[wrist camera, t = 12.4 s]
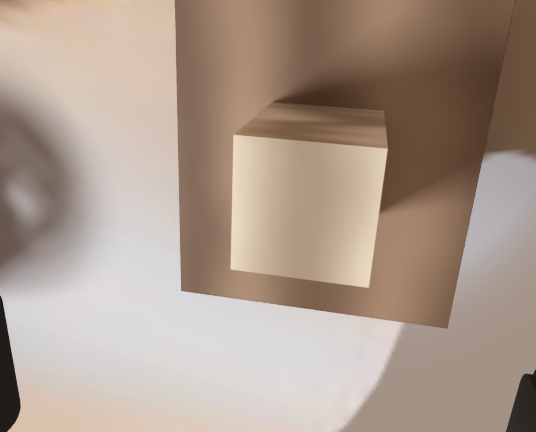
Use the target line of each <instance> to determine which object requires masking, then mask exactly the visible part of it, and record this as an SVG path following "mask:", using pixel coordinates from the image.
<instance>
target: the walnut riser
mask: <svg viewBox="0 0 536 432" xmlns="http://www.w3.org/2000/svg"><path fill="white" fill-rule="evenodd" d="M514 3H515V0H175V21H176V67H177V114H178V160H179V207H180V254H181V291H186V292H193V293H200V294H207V295H214V296H221V297H228V298H235V299H242V300H249V301H256V302H263V303H271V304H278V305H285V306H292V307H299V308H306V309H313V310H320V311H327V312H334V313H341V314H348V315H355V316H363V317H370V318H377V319H384V320H391V321H398V322H405V323H413V324H419V325H427V326H433V327H440V328H448V323H449V318H450V313H451V308H452V303H453V299H454V294H455V289H456V284H457V279H458V275H459V269H460V265H461V260H462V255H463V250H464V246H465V241H466V235H467V231H468V226H469V221H470V216H471V212H472V207H473V202H474V197H475V192H476V187H477V183H478V178H479V173H480V168H481V163H482V158H483V153H484V149H485V144H486V139H487V134H488V129H489V124H490V120H491V115H492V110H493V105H494V100H495V95H496V91H497V86H498V81H499V76H500V71H501V66H502V61H503V57H504V52H505V47H506V42H507V37H508V32H509V28H510V23H511V18H512V13H513V8H514ZM272 102H278V103H291V104H303V105H316V106H328V107H341V108H354V109H366V110H379V111H384V116H385V126H386V136H387V146H388V151H387V158H386V166H385V173H384V180H383V188H382V195H381V202H380V209H379V217H378V224H377V231H376V239H375V246H374V253H373V261H372V268H371V275H370V283H369V288H366V287H358V286H351V285H343V284H336V283H328V282H321V281H313V280H306V279H298V278H291V277H283V276H276V275H269V274H261V273H254V272H246V271H239V270H231V225H232V179H233V135H234V134H235V133H236V132H237V131H238V130H240V129H241V128H242V127H243V126H244V125H246V124H247V123H248V122H249V121H250V120H252V119H253V118H254V117H255V116H256V115H257V114H259V113H260V112H261V111H262V110H263V109H265V108H266V107H267V106H268V105H269V104H271V103H272Z"/></svg>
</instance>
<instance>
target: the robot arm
mask: <svg viewBox="0 0 536 432" xmlns="http://www.w3.org/2000/svg"><path fill="white" fill-rule="evenodd" d="M20 407H21V406H20V398H19V392H18V386H17V381H16V375H15V369H14V364H13V358H12V352H11V346H10V341H9V335H8V329H7V324H6V318H5V312H4V307H3V301H2V298H1V296H0V432H7V431H8V430H9V429H10V428H11V427H12V426H13V424H14V423H15V422H16V420H17V418H18V415H19V412H20ZM506 432H536V370H535V372H534V374H533V375H531V374H524V375H523V377H522V378H521V381H520V384H519V388H518V392H517V395H516V399H515V402H514V405H513V409H512V412H511V416H510V419H509V423H508V427H507V430H506Z"/></svg>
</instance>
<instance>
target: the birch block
mask: <svg viewBox="0 0 536 432" xmlns="http://www.w3.org/2000/svg"><path fill="white" fill-rule="evenodd" d="M387 151H388V146H387V136H386V126H385V116H384V111H379V110H366V109H354V108H341V107H328V106H316V105H303V104H291V103H278V102H272V103H271V104H269V105H268V106H267V107H266V108H265V109H263V110H262V111H261V112H260V113H259V114H257V115H256V116H255V117H254V118H253V119H252V120H250V121H249V122H248V123H247V124H246V125H244V126H243V127H242V128H241V129H240V130H238V131H237V132H236V133H235V134H234V135H233V179H232V225H231V270H239V271H246V272H254V273H261V274H269V275H276V276H283V277H291V278H298V279H306V280H313V281H321V282H328V283H336V284H343V285H351V286H358V287H366V288H369V283H370V275H371V268H372V261H373V253H374V246H375V239H376V231H377V224H378V217H379V209H380V202H381V195H382V188H383V180H384V173H385V166H386V158H387Z"/></svg>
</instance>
